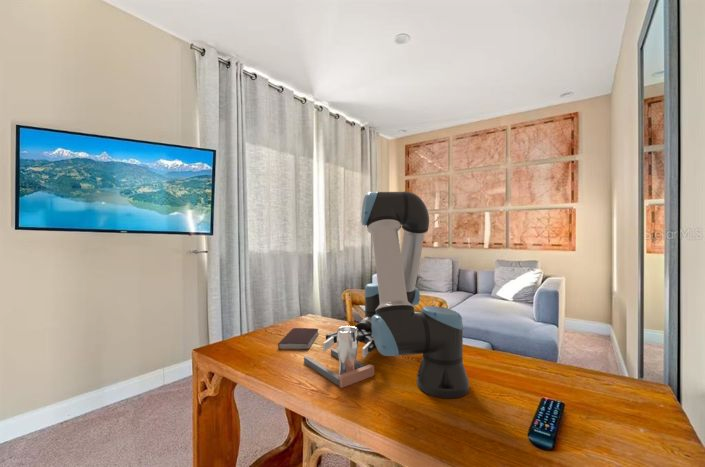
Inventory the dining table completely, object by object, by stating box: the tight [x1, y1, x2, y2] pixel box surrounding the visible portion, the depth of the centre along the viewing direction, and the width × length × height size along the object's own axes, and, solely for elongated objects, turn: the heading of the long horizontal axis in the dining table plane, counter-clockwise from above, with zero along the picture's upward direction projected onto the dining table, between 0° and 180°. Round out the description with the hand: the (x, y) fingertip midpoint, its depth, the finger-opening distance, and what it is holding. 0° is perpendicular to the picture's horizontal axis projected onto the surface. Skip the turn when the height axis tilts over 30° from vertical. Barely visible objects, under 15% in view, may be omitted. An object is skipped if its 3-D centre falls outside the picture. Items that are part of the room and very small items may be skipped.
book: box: [277, 327, 320, 351], centre depth 137 cm, size 12×19×3 cm, turn 173°
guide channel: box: [303, 348, 375, 389], centre depth 110 cm, size 23×13×3 cm, turn 38°
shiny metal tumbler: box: [336, 325, 359, 375], centre depth 105 cm, size 7×7×15 cm
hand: (343, 350), depth 102 cm, fingers open, 13 cm apart
